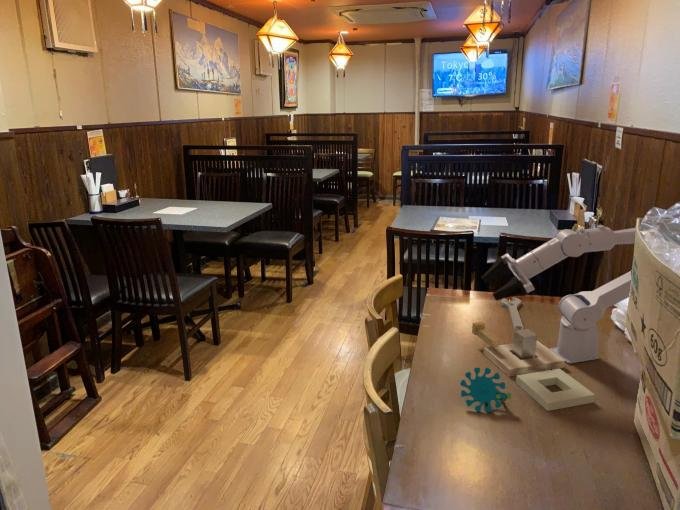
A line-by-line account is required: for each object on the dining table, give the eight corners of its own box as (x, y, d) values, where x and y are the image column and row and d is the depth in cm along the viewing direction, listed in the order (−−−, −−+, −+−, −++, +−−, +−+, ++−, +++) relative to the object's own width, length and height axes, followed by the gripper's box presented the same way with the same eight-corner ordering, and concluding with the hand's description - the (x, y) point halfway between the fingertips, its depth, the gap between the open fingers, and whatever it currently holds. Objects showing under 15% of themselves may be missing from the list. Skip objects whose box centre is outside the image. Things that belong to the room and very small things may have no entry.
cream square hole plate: (558, 375, 124) (559, 368, 124) (593, 402, 113) (594, 394, 113) (515, 382, 121) (516, 375, 121) (547, 410, 110) (548, 403, 110)
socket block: (535, 346, 139) (536, 339, 139) (564, 367, 128) (565, 360, 127) (483, 354, 135) (483, 347, 135) (508, 376, 124) (509, 369, 124)
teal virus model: (454, 402, 111) (466, 360, 115) (454, 408, 116) (465, 367, 120) (506, 419, 107) (516, 375, 111) (503, 424, 112) (513, 382, 116)
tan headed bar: (481, 331, 141) (482, 321, 140) (500, 346, 132) (501, 336, 131) (472, 332, 140) (472, 322, 140) (490, 348, 131) (491, 337, 131)
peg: (524, 356, 134) (527, 328, 132) (534, 363, 130) (537, 335, 128) (511, 358, 133) (514, 330, 131) (520, 365, 129) (523, 337, 127)
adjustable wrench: (524, 334, 147) (524, 329, 147) (501, 332, 149) (501, 327, 149) (520, 302, 170) (520, 297, 170) (500, 300, 172) (500, 296, 172)
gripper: (518, 236, 131) (472, 263, 134) (544, 266, 119) (493, 295, 121) (527, 254, 135) (482, 280, 137) (554, 285, 122) (504, 313, 125)
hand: (488, 288), depth 129 cm, fingers open, 7 cm apart
